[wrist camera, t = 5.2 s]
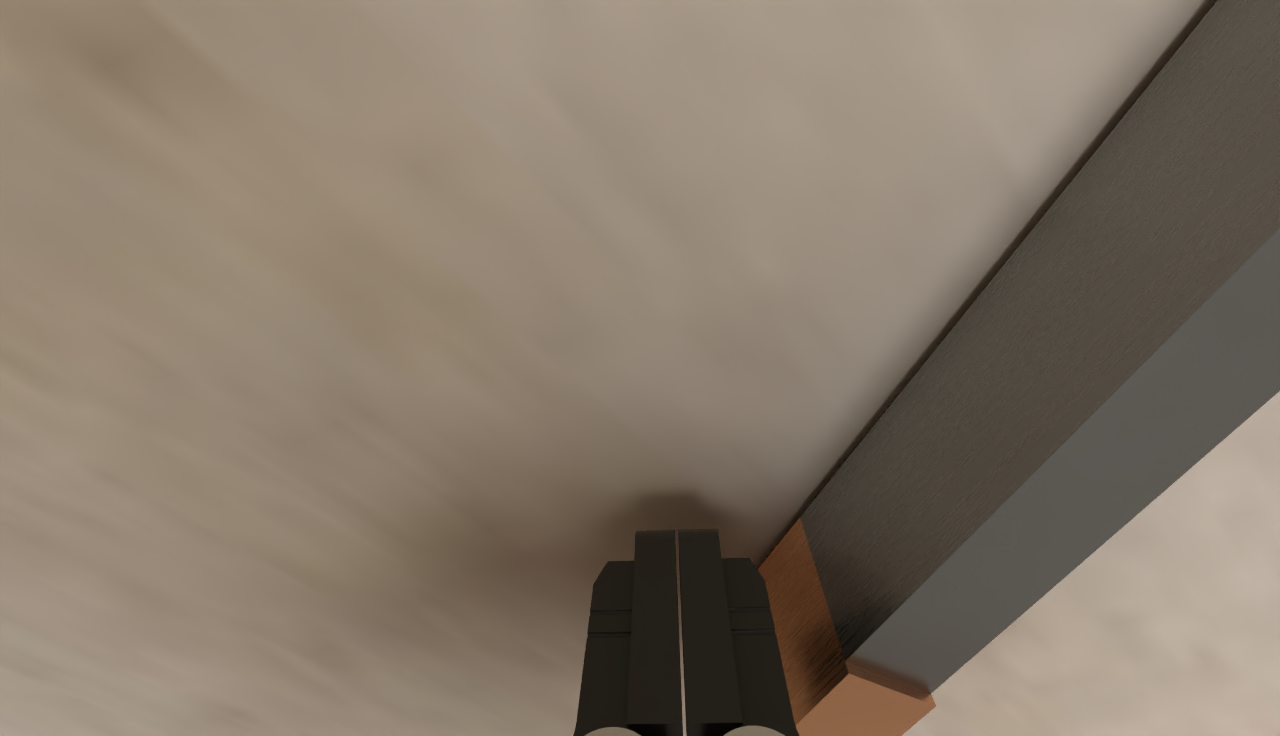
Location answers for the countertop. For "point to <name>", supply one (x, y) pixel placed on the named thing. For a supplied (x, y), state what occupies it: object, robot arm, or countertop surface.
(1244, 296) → the tongs arm
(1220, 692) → the countertop surface
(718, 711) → the robot arm
